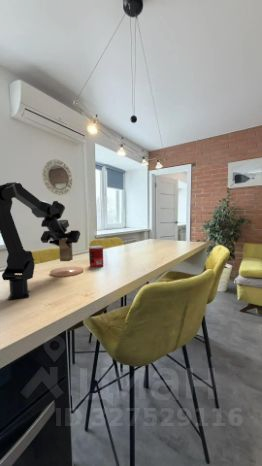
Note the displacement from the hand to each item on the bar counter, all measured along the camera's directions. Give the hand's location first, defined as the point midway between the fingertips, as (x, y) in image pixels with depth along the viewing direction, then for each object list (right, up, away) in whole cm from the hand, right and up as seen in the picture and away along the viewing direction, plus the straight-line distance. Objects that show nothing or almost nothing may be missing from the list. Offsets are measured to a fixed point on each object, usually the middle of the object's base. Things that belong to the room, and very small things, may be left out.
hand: (67, 247), depth 112 cm
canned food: (+13, -12, +13) cm, 22 cm away
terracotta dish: (0, -13, 0) cm, 13 cm away
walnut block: (0, -7, -1) cm, 7 cm away
